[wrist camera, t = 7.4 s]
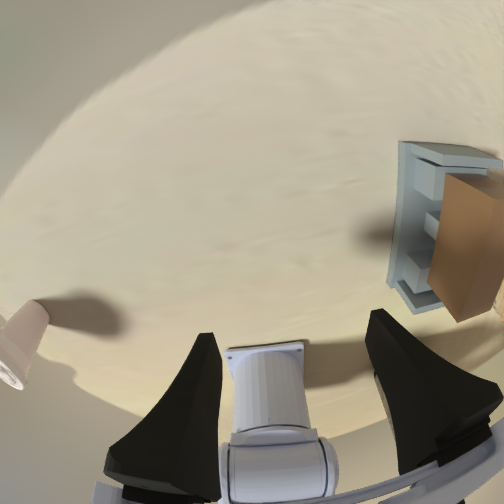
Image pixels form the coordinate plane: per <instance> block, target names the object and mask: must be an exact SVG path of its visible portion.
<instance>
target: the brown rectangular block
mask: <svg viewBox="0 0 504 504" xmlns="http://www.w3.org/2000/svg"><path fill="white" fill-rule="evenodd" d="M503 279H504V186H503V185H501V184H499V183H497V182H495V181H493V180H491V179H489V178H487V177H485V176H483V175H481V174H469V173H445V182H444V192H443V200H442V208H441V215H440V221H439V227H438V233H437V238H436V243H435V248H434V253H433V257H432V262H431V266H430V270H429V274H428V278H427V284H428V285H429V286H430V287H431V289H432V290H433V291H434V292H435V294H436V295H437V296H438V298H439V299H440V300H441V301H442V303H443V304H444V305H445V307H446V308H447V309H448V311H449V312H450V314H451V315H452V316H453V318H454V319H455V320H456V322H457V323H458V322H461V321H464V320H466V319H469V318H472V317H474V316H477V315H479V314H482V313H484V312H487V311H489V310H491V308H492V305H493V303H494V301H495V299H496V296H497V294H498V291H499V289H500V286H501V284H502V281H503Z"/></svg>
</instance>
